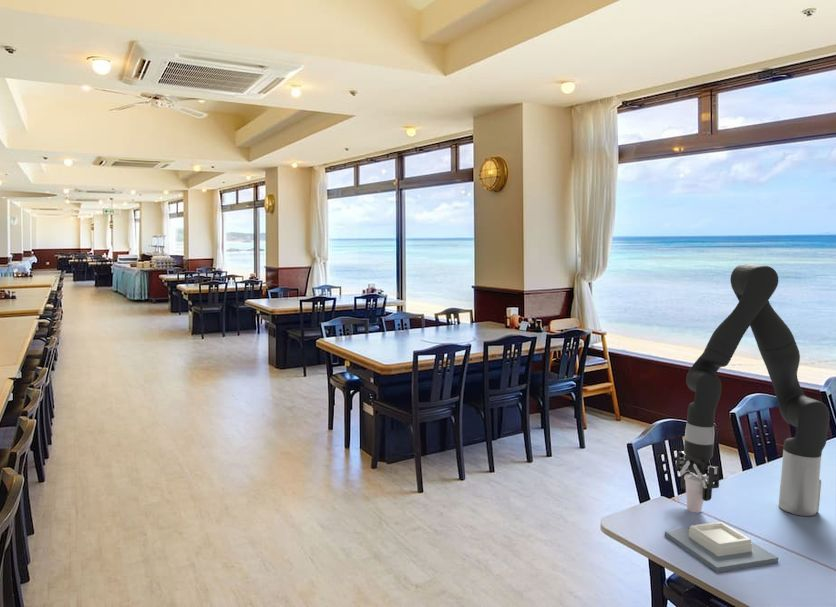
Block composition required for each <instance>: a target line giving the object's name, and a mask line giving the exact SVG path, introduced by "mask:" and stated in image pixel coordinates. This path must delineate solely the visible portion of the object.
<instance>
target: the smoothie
mask: <svg viewBox="0 0 836 607" xmlns="http://www.w3.org/2000/svg"><path fill="white" fill-rule="evenodd" d="M684 479H685V483H686V489H685V493H686V494H685V496H686V497H685V498H686V509H687V510H688V511H689V512H691V513H701V512H702V509H703V505H704V500H703V499H702V495H703V487H704V486H703V484H702V481H701V480H699V477H698V476H697V475H695V474H694V473H688V474H685V476H684ZM706 482H707V484H708V481H707V480H706Z"/></svg>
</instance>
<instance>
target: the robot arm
mask: <svg viewBox="0 0 836 607" xmlns="http://www.w3.org/2000/svg"><path fill="white" fill-rule="evenodd" d="M729 281H730V285H731V289H732V291H733V293H734V295H735V297H736V298H737V300H738V303H737V305H736V306H735V308H733V310H732V311H731V312H730V314H729V315H728V316H727V317H726V318H725V319H724V320H723V321H722V322H720V324H719V325H718V326H717V327H716V329H715V330H714V331H713V332H712V334H711V337H710V338H709V340H708V342H707V344H706V346H705V347H704V348H705V349H704V351H702V354H701V355H700V356H699V357H698V358H697V359H696V360H695V362H694V363H693V365H692V366H690V369H688V372H687V374H686V379H685V382H686V385H687V388H688V389H689V390H691V391H692V392H694V393H695V394H694V399H693V402H689V404H688V407H687V415H686V423H685V424H686V426H685V430H684V432H685V433H684V444H683V451H682V450H681V451H677V454H676V462H675V463H676V464H675V471H676V472H679V475H680V483H679V484H680V488H681V489H682V490H686V483H685V479H684V476H685V474H688V473H694V474H695V475H697V476H698V477H699V480H701V481H702V484H703V486H704V487H703V495H702V499H703V500H704V501H705V502H707V501H710V500H711V499H712V497H713V496H712V495H713V494H712V493H713V492H712V491H713V489H719V487H720V467H719V466H713V465H711V460H712V458H713V457H714V445H715V444H714V443H715V416H716V410H717V407H718V405H719V402H720V398H721V395H722V388H723V386H722V382H721V379H720V378H719V376H718V375H717V374H716V373H717V372H718V371H719V369H720V368H724V367H727V366H728V365H729V363H730V362H731V361H732V358H733V356H734V354H735V353H736V350H737V348H738V346H739V344H740V343H741V340H742V339H743V337H744V336H745V334H746V332H747V331H748V329H749V327H750V330H751V331H752V334H753V336H754V339H755V342H756V345H757V348H758V350H759V353H760V356H761V358H762V360H763V363H764V365H765V367H766V368H765V369H766V371H767V373H768V375H769V378H770V381H771V383H772V386H773V390H774V394H775V398H776V401H777V406H778V410H779V413H780V415H781V417H782V419H783V421H785V422H786V423H787V424H789V425H791V426H793V427H796V431H795V432H796V433H795V437H788V438H785V439H784V441H783V450H782V461H781V462H782V465H781V474H780V485H779V494H778V495H779V496H778V507H779V508H780V509H781V510H783V511H784V512H788V513H790V514H793V515H796V516H802V517H812V516H816V514H817V513H819V511H820V500H821V499H820V498H821V490H822V480H821V478H820V476H821V464H822V463H821V462H822V456H823V455H822V454H823V450H824V448H825V447H826V443H827V438H828V434H829V433H828V432H829V426H830V420H831V419H830V416H831V415H830V410H829V408H828V406H827V405H826V404H825V403H824V402H822V401H821V400H820V401H819V400H817V399H814V398H811V397H809V396H806V394H805V393H804V391H803V389H802V387H801V384H800V382H799V379H798V370H799V365H800V360H801V354H800V350H799V347H798V345H797V341H796V340H795V337H794V334H793V333H792V331H791V328H789V326H788V325H787V324H786V322H785V321H784V320H783V319H782V317H780V315H778V313H777V312H776V310H775V309H774V307H773V306H772V304H771V302H770V301H769V300H770V299H771V298H772V295H773V294H774V293H775V291H776V289H777V288H778V285H779V276H778V273H777V271H776V270H775V269H774V267H771V266H769V265H765V264H758V263H741V264H739V265H737V266H735V267H734V268H733V270H732V271H731V274H730V280H729ZM706 480H707V481H708V484H707V482H706ZM704 501H703V502H704Z"/></svg>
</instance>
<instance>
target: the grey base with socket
mask: <svg viewBox="0 0 836 607" xmlns="http://www.w3.org/2000/svg"><path fill="white" fill-rule="evenodd" d="M664 537H665V538H667V539H669V540H670V541H672V542H673V543H675V544H676V545H677V546H679V547H680V548H682V549H683V550H685V551H686V552H687V553H689V554H690V555H691V556H693V557H694V558H695V559H697V560H699V561H700V562H702V563H703V564H704V565H705V566H707V567H709V568H710V569H711V570H713V571H714V572H716V573H721V572H727V571H735V570H741V569H746V568H753V567H759V566H765V565H772V564H777V563H779V557H778V556H776V555H775V554H773V553H771V552H769V551H768V550H767V549H765V548H763V547H761V546H760V545H758V544H756V543H755V542H753V541H752V539H751V538H750V537H748V536H746V535H745V534H743V533H741V532H739V531H738V530H736V529H735V528H733V527H731V526H730V525H728V524H726V523H724V522H722V521H716V522H708V523H700V524H694V525H690V526H689V527H686V528H685V527H684V528H678V529H669V530H664Z"/></svg>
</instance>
